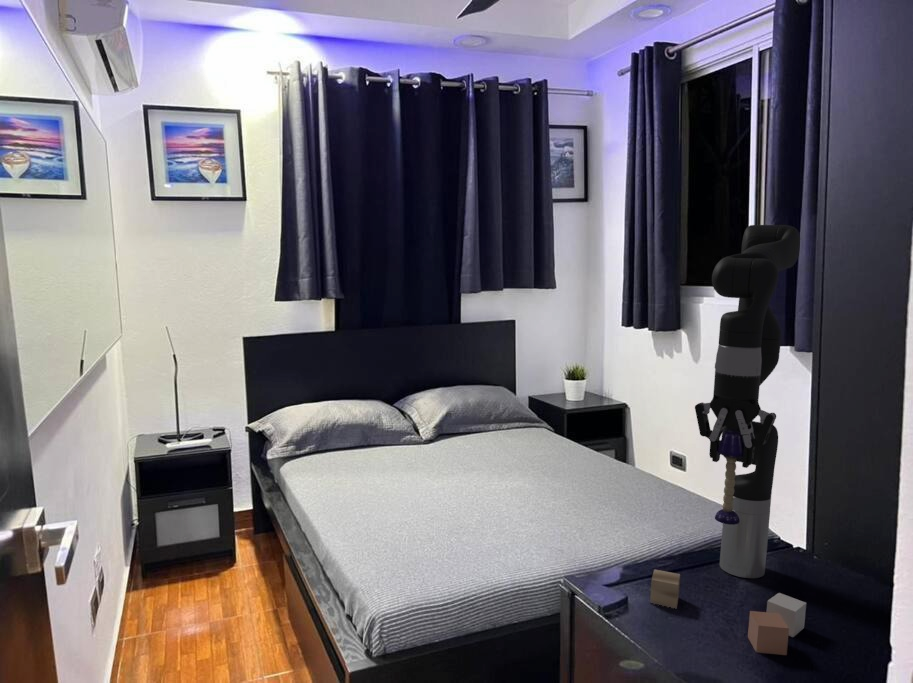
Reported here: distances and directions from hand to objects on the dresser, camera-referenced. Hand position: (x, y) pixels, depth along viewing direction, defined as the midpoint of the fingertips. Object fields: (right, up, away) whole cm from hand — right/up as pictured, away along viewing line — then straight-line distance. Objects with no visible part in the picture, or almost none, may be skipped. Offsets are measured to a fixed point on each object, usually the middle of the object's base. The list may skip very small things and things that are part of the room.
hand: (730, 463), depth 124 cm
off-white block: (+11, -31, +3) cm, 33 cm away
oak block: (-8, -29, +12) cm, 33 cm away
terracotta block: (+5, -32, -3) cm, 32 cm away
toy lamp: (0, -11, +1) cm, 11 cm away
